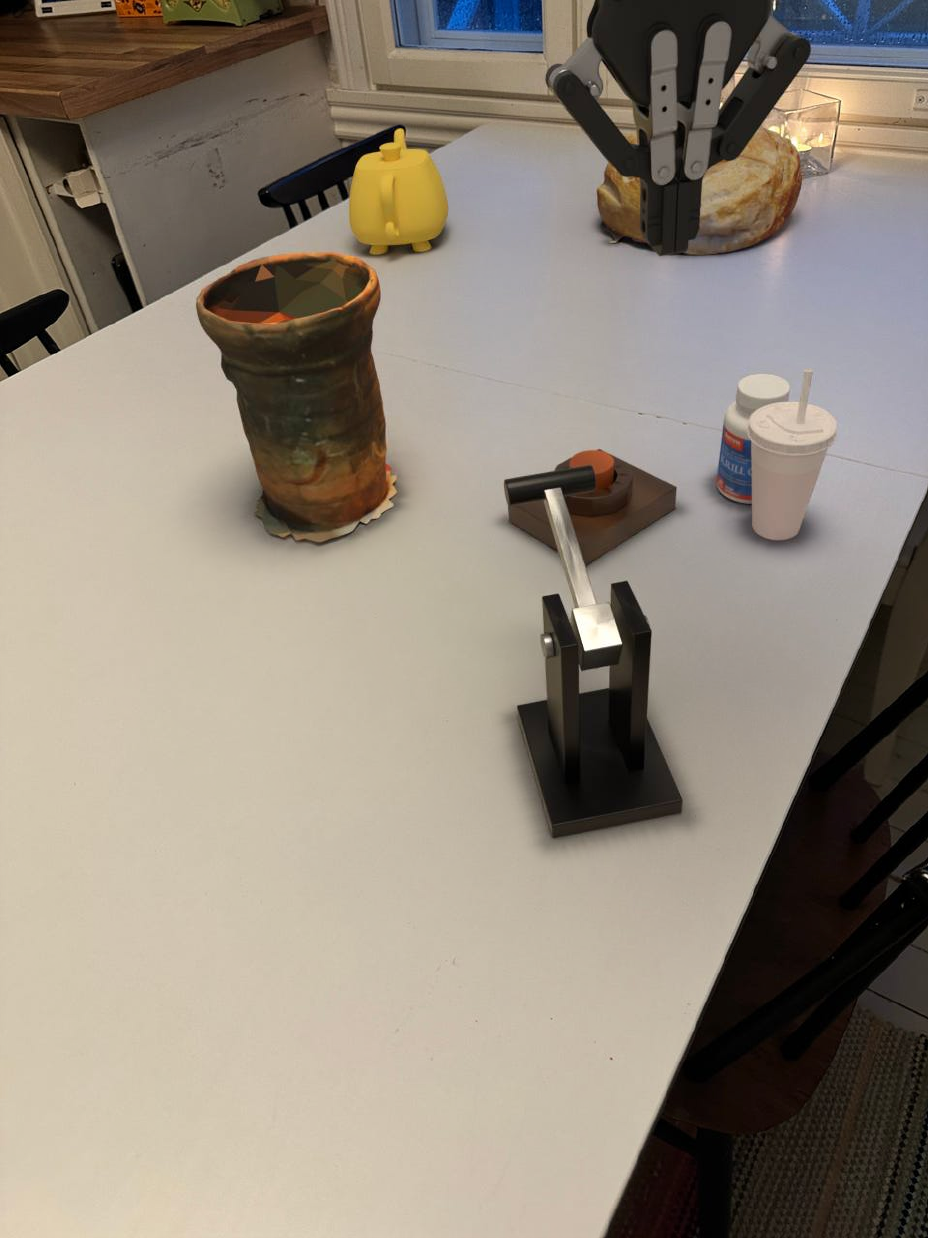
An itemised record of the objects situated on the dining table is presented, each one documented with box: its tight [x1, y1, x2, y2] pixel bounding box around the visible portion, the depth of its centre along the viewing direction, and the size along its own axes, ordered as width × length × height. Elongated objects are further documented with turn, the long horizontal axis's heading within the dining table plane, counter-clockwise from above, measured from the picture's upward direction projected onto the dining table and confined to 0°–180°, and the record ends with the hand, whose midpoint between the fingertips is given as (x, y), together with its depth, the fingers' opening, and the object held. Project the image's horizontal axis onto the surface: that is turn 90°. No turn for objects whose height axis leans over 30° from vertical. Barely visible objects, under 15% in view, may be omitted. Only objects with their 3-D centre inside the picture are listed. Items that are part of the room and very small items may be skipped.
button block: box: [507, 448, 678, 566], centre depth 78 cm, size 11×9×4 cm
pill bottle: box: [716, 373, 791, 505], centre depth 77 cm, size 6×5×10 cm
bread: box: [596, 108, 803, 256], centre depth 122 cm, size 25×27×15 cm
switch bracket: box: [516, 580, 684, 838], centre depth 55 cm, size 10×8×13 cm
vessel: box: [195, 252, 398, 543], centre depth 78 cm, size 14×14×20 cm
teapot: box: [348, 128, 449, 256], centre depth 129 cm, size 14×20×13 cm
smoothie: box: [747, 368, 838, 541], centre depth 71 cm, size 6×6×14 cm
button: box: [570, 449, 614, 490], centre depth 76 cm, size 4×4×2 cm
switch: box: [503, 465, 623, 672], centre depth 55 cm, size 13×6×2 cm, turn 10°
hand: (668, 248), depth 50 cm, fingers closed
